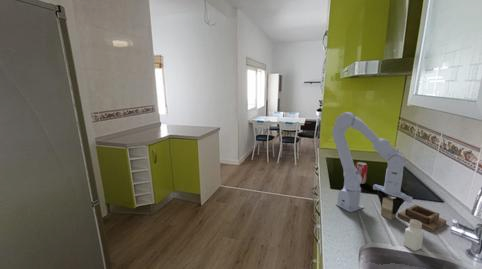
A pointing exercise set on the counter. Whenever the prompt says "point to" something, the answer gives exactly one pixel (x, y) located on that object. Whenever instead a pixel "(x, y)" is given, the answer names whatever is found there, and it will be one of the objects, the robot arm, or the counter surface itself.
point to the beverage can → (362, 171)
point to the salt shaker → (413, 235)
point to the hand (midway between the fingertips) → (388, 210)
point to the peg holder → (423, 217)
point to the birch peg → (387, 208)
